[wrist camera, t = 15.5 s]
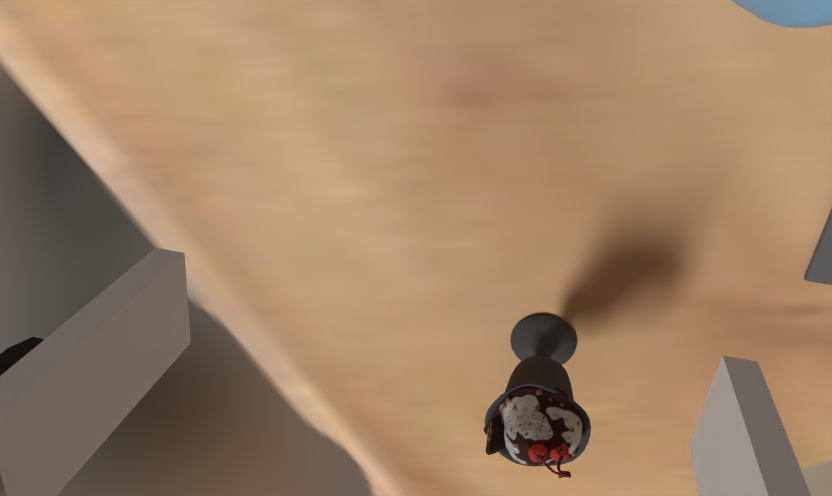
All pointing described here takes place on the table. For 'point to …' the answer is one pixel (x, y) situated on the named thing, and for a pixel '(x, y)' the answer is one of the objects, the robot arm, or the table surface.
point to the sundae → (539, 400)
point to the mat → (822, 257)
